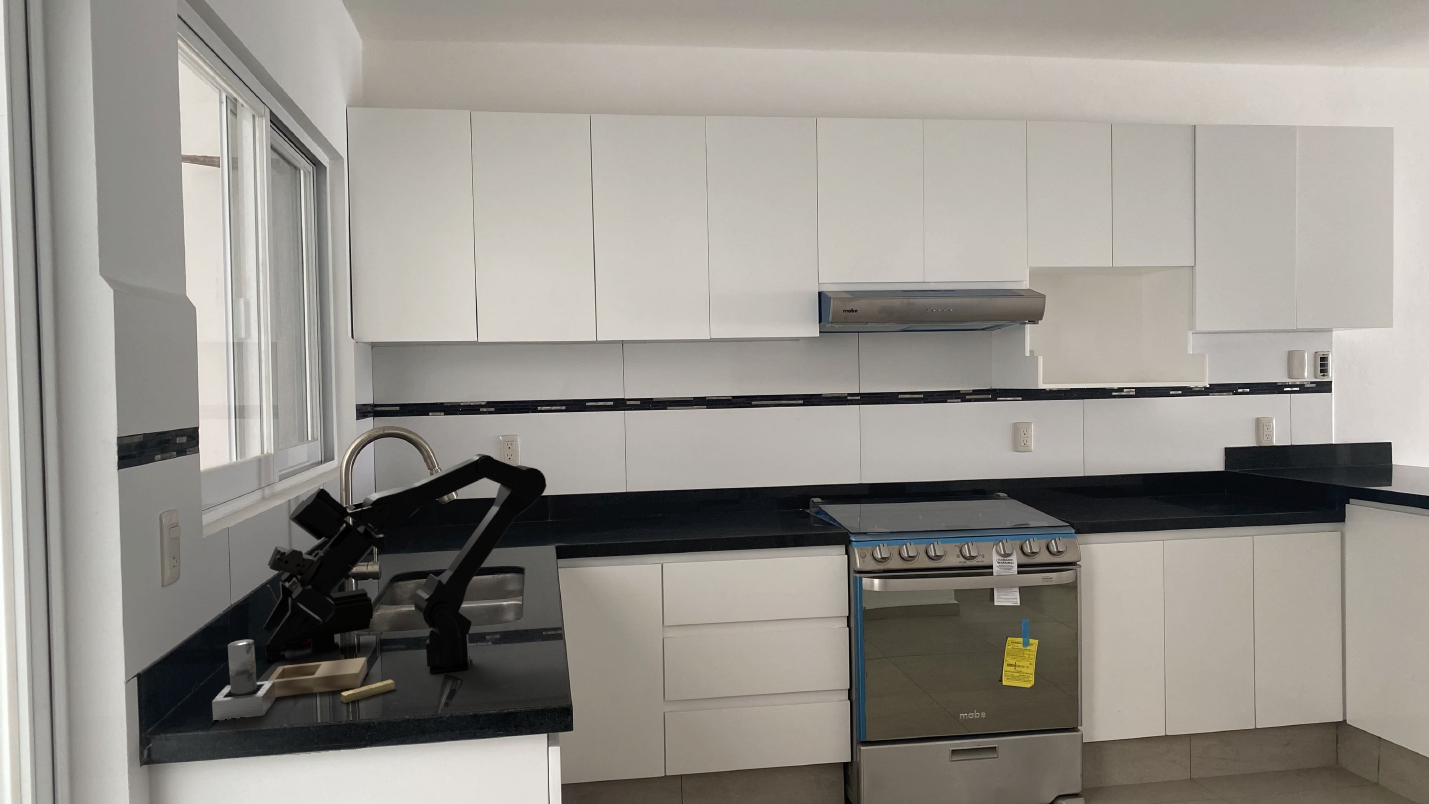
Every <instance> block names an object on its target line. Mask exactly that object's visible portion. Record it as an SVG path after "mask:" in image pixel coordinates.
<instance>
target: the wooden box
mask: <svg viewBox="0 0 1429 804" xmlns="http://www.w3.org/2000/svg"><path fill="white" fill-rule="evenodd" d="M367 673H368V663H367V657H357V658H356V657H355V658H349V659H347V658H346V659H338V660H328V661H327V660H326V661H320V662H310V663H301V664H300V663H298V664H292V665H291V664H290V665H281V666H278V667H277V668H276V670H275V671H274V672H273V673H272V674H271V676H270V677H269V679H267V681H274V683H275V698H278V697H287V696H296V695H304V694H312V693H313V694H314V693H315V694H316V693H324V692H331V691H340V690H341V689H342V690H351V689H357V688H361V685H362V683H363V682H364V679H365V677H366V675H367ZM350 688H351V689H350Z"/></svg>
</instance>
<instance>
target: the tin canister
mask: <svg viewBox="0 0 1429 804" xmlns="http://www.w3.org/2000/svg"><path fill="white" fill-rule="evenodd" d="M227 652H228V653H227V654H228V667H229V668H228V669H229V671H228V672H229V682H230V683H229V685H230V686H231V697H237V696H246V695H255V694H257V682H258V681H257V666H256V651H255V641H254V640H253V639H241V640H235V641H233V642H230V643H229V644H227Z"/></svg>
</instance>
